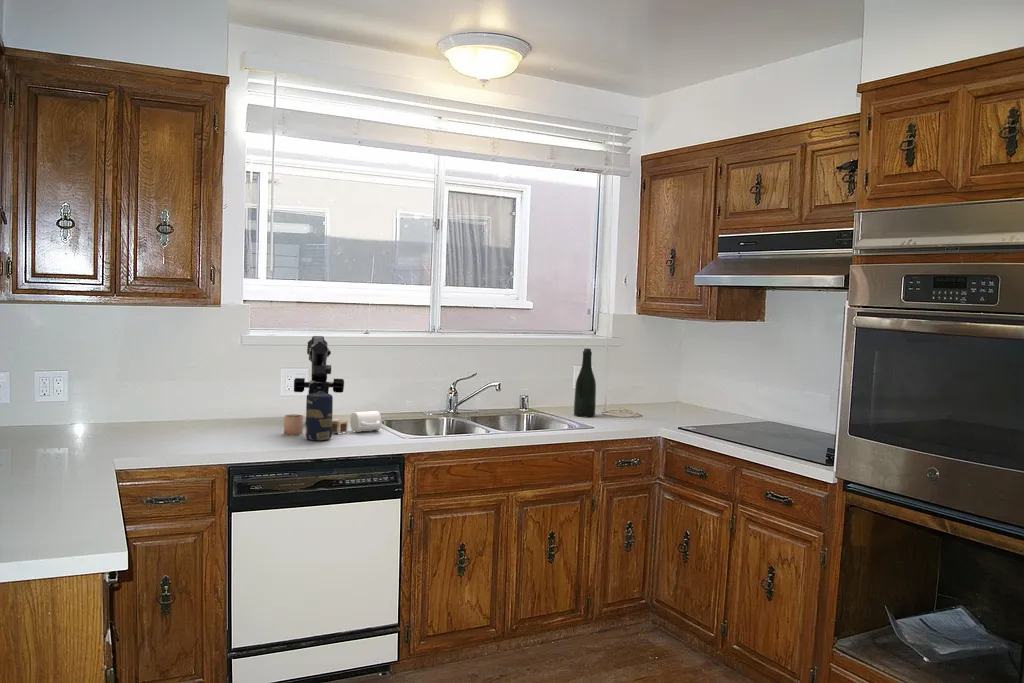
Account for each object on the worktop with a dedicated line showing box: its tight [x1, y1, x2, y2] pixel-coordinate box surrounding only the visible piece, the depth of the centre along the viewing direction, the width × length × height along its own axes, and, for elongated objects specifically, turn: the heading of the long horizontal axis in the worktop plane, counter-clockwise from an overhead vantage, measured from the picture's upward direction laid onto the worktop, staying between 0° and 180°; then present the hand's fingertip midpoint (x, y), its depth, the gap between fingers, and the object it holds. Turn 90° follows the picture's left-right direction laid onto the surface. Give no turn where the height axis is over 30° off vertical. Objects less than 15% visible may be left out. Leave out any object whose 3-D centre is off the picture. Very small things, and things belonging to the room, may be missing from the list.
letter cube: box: [332, 418, 349, 433], centre depth 299 cm, size 5×5×5 cm
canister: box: [305, 391, 334, 441], centre depth 283 cm, size 10×10×18 cm
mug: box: [349, 410, 382, 433], centre depth 303 cm, size 12×10×8 cm
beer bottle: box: [573, 348, 597, 417], centre depth 371 cm, size 10×10×33 cm
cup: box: [283, 413, 304, 436], centre depth 293 cm, size 7×7×7 cm
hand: (319, 402), depth 290 cm, fingers closed
